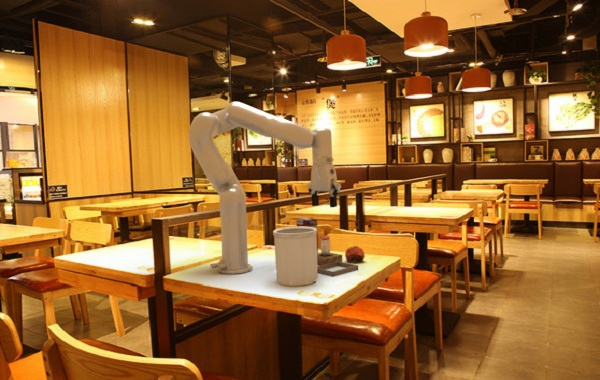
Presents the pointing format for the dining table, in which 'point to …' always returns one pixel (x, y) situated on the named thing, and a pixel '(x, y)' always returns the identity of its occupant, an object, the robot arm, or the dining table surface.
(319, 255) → the pin block
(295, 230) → the utensil holder
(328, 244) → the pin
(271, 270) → the dining table surface
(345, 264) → the tray
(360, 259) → the pomegranate
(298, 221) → the supplement box
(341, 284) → the dining table surface
